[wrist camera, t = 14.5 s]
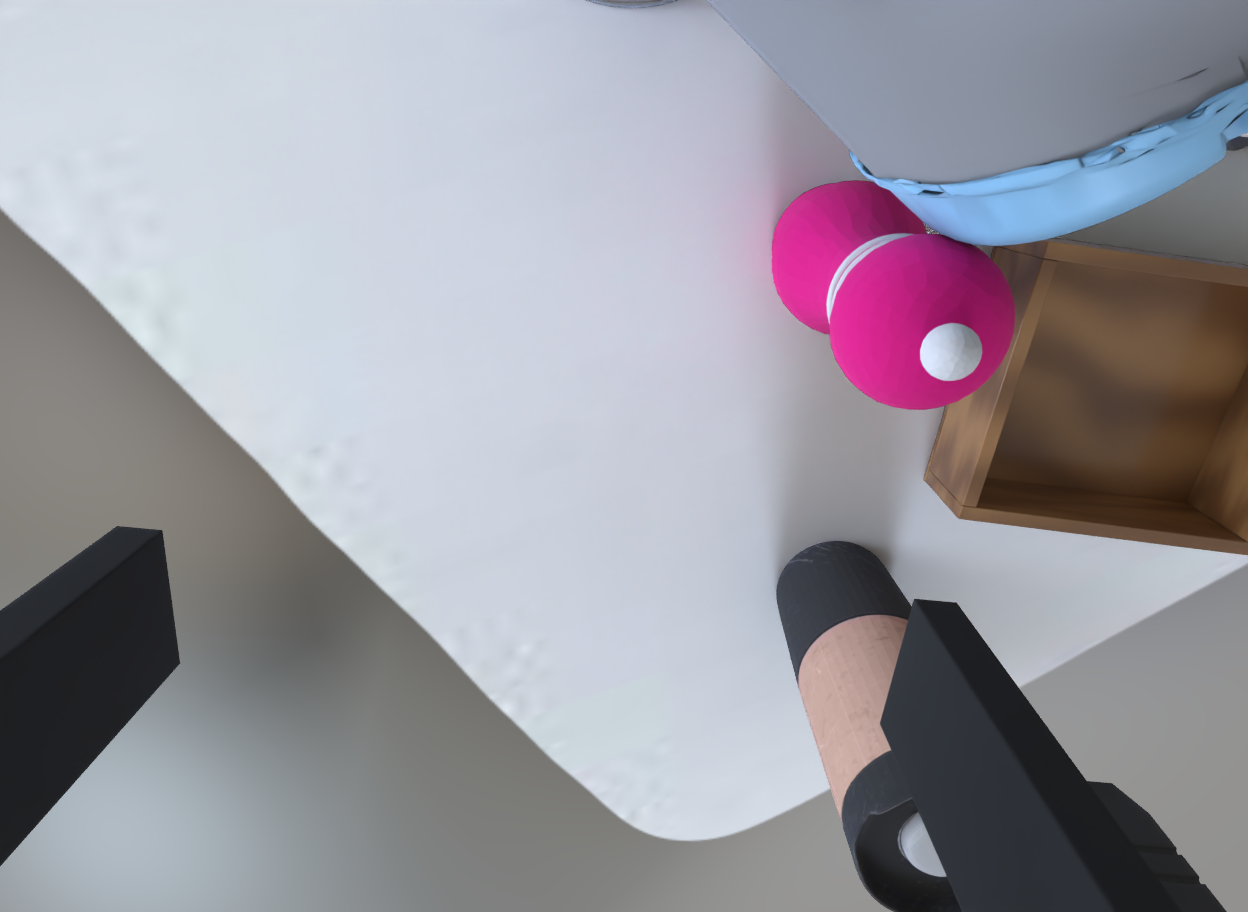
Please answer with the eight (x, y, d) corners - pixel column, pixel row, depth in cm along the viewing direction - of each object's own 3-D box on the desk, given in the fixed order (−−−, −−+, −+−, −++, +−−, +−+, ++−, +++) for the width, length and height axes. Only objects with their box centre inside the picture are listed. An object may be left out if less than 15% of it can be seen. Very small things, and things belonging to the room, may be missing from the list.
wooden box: (998, 230, 41) (1048, 241, 36) (1297, 272, 41) (1387, 288, 37) (923, 479, 46) (958, 519, 41) (1189, 514, 47) (1254, 556, 42)
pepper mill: (770, 169, 40) (858, 231, 22) (912, 175, 39) (1121, 242, 21) (755, 308, 43) (821, 463, 25) (886, 314, 42) (1051, 475, 24)
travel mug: (911, 607, 50) (1077, 882, 31) (804, 657, 51) (900, 948, 32) (861, 515, 47) (1008, 753, 29) (750, 571, 49) (821, 830, 30)
